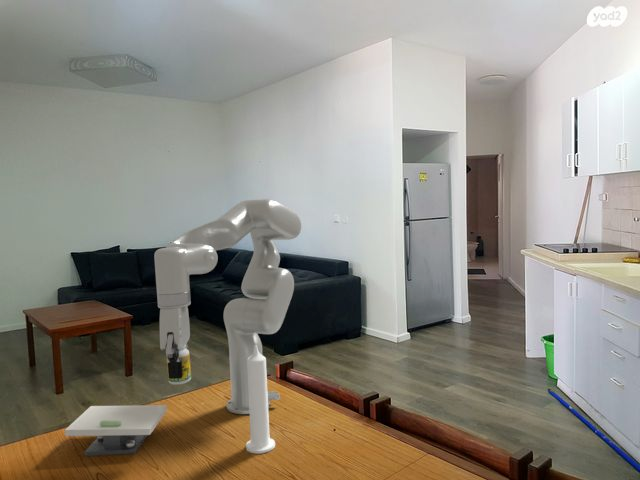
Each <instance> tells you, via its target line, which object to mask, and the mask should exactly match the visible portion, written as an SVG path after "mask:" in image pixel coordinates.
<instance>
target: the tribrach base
mask: <svg viewBox="0 0 640 480" xmlns="http://www.w3.org/2000/svg"><path fill="white" fill-rule="evenodd" d="M148 436H149V435H108V436H96V437H97V438H96V439H95V440H93V442H92V443H91V444H90V445H89V446H88V447H87V448H86V449H85V450H84V457H89V456H91V457H92V456H109V455H111V456H113V455H132V454H133V455H134V454H136V453H137V451H138V450H139V449H140V447H141V446H142V445H143V443H144V442H145V440H146V439H147V437H148Z"/></svg>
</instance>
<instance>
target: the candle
mask: <svg viewBox="0 0 640 480" xmlns="http://www.w3.org/2000/svg"><path fill="white" fill-rule="evenodd" d="M247 372H248V392H249V412H250V414H249V426H250V427H249V429H250V439H249V440H248V441H247V442H246V443H245V449H246V451H247V452H249V453H251V454H256V455H258V454H260V455H261V454H265V453H269V452H271V451H272V450H273V449H274V448H275V447H276V441H275V439H273V438H271V437H270V417H269V415H270V414H269V407H268V392H267V391H268V375H267V374H268V373H267V358H266V356H264V354H262V355H261V354H260V353H259V351H258V348H257V345H255V347H254V352H253V354H252V355H251V356H250V357H249V358H248V359H247Z"/></svg>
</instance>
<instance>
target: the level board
mask: <svg viewBox="0 0 640 480" xmlns="http://www.w3.org/2000/svg"><path fill="white" fill-rule="evenodd" d="M167 407H168V406H167V404H163V405H162V404H157V405H155V404H153V405H152V404H151V405H150V404H149V405H138V404H137V405H90V406H89V407H88V408H87V409H86V410H85V411H83V413H82V414H80V415H79V416H78V417H77V418H76V419H75V420H74V421H72V423H71V424H69V426H67V427H66V428H65V429H64V436H65V437H85V436H87V437H94V436H96V437H97V436H108V435H148V436H150V435H151V434H152V433H153V431H154V430H155V428H156V426H158V424H159V423H160V422H161V420H162V419H163V417H164V416H165V414H166V413H167V412H168V408H167Z"/></svg>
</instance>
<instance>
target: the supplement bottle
mask: <svg viewBox="0 0 640 480" xmlns="http://www.w3.org/2000/svg"><path fill="white" fill-rule="evenodd" d="M177 347H178V346H173V348H177ZM185 347H186V344H185V345H184V346H183V347H182V348H181V351H180V361H182V369H183V377H182V378H176V379H170V378H169V374H168V373H167V376H168V377H167V380H168V383H169V384H171V385H183V384H186V383H189V382H190V381H191V380H192V371H191V370H192V369H191V359H190V358H191V356H190V351H189V348H188V349H186V348H185ZM174 353H176V355H177V351H174ZM165 356H166V357H165V358H166V359H167V355H166V354H165ZM166 367H167V371H168V362H167V361H166Z"/></svg>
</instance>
